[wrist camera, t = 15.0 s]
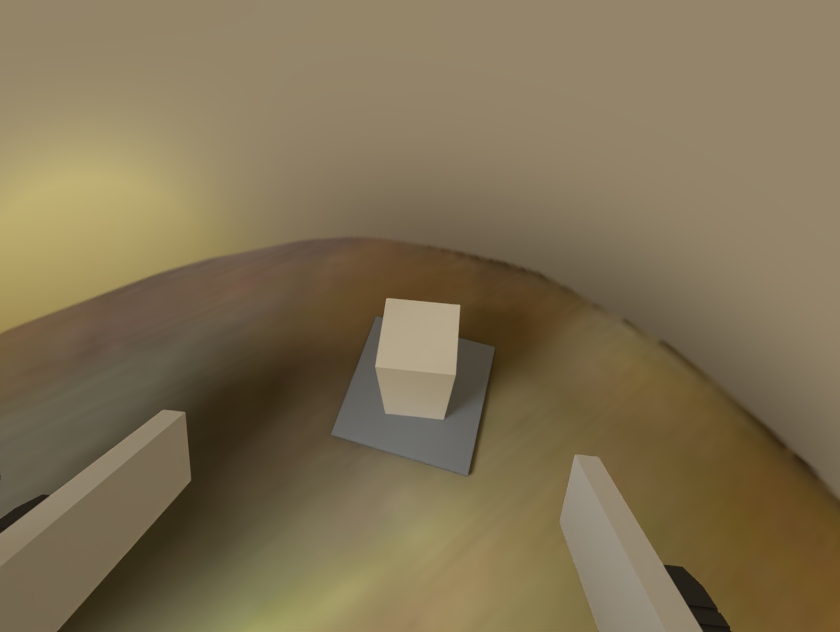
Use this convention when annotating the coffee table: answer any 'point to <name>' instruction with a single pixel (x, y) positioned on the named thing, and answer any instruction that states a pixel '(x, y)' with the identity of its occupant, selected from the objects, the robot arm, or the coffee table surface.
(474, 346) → the slate mat
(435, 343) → the cream block
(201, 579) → the coffee table surface
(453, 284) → the coffee table surface
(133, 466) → the robot arm
